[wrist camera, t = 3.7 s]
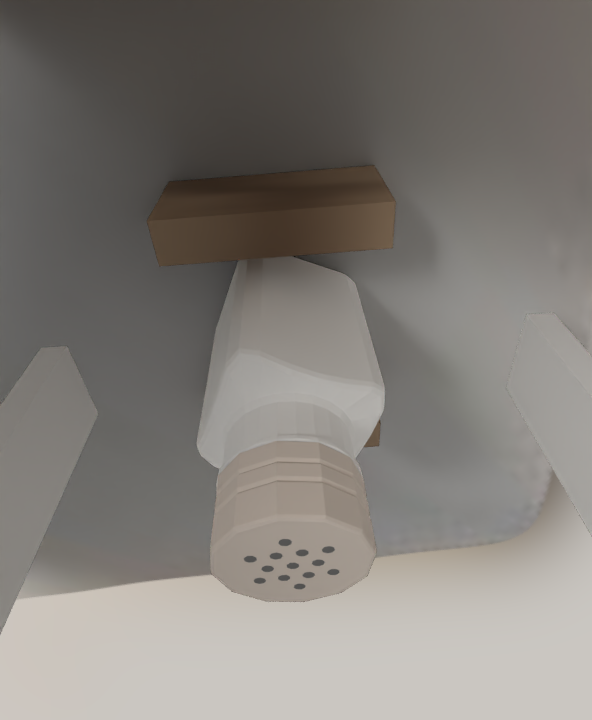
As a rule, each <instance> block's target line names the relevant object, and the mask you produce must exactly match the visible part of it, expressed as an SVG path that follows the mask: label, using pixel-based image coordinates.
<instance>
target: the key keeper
mask: <svg viewBox="0 0 592 720" xmlns="http://www.w3.org/2000/svg"><path fill="white" fill-rule="evenodd" d="M395 207H396V201H395V199H394V197H393V196H392V194H391V192H390V191H389V189H388V187H387V186H386V184H385V182H384V181H383V179H382V177H381V176H380V174H379V172H378V171H377V169H376V167H375V166H374V165H372V166H359V167H347V168H334V169H322V170H309V171H297V172H284V173H272V174H259V175H247V176H234V177H222V178H209V179H197V180H184V181H172V182H168V184H167V186H166V188H165V189H164V191H163V193H162V195H161V197H160V198H159V200H158V202H157V204H156V205H155V207H154V209H153V211H152V213H151V214H150V216H149V218H148V220H147V224H148V228H149V231H150V235H151V239H152V242H153V246H154V249H155V253H156V257H157V260H158V264H159V266H171V265H184V264H197V263H209V262H222V261H235V260H248V259H260V258H273V257H286V256H299V255H312V254H324V253H337V252H350V251H363V250H376V249H388V248H393V236H394V221H395ZM379 438H380V419H379V421H378V423H377V425H376V427H375V428H374V430H373V432H372V434H371V436H370V437H369V439H368V441H367V442H366V444H365V445H364V447H373V446H379Z"/></svg>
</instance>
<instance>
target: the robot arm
mask: <svg viewBox="0 0 592 720" xmlns="http://www.w3.org/2000/svg"><path fill="white" fill-rule="evenodd" d="M506 389H507V391H508V393H509V395H510V396H511V398H512V400H513V402H514V403H515V405H516V407H517V408H518V410H519V412H520V414H521V415H522V417H523V419H524V420H525V422H526V424H527V426H528V427H529V429H530V431H531V433H532V434H533V436H534V438H535V439H536V441H537V443H538V445H539V446H540V448H541V450H542V451H543V453H544V455H545V457H546V458H547V460H548V462H549V463H550V465H551V467H552V469H553V470H554V472H555V474H556V475H557V477H558V479H559V481H560V482H561V484H562V486H563V488H564V489H565V491H566V493H567V494H568V496H569V498H570V500H571V501H572V503H573V505H574V507H575V508H576V510H577V512H578V513H579V515H580V517H581V518H582V520H583V522H584V524H585V525H586V527H587V529H588V530H589V532H590V534H591V536H592V356H591V354H590V353H589V352H588V351H587V350H586V349H585V348H584V346H583V345H582V344H581V343H580V342H579V341H578V340H577V338H576V337H575V336H574V335H573V334H572V333H571V332H570V331H569V329H568V328H567V327H566V326H565V325H564V324H563V323H562V321H561V320H560V319H559V318H558V317H557V316H556V315H555V313H554V312H553V313H539V314H526V317H525V321H524V324H523V328H522V331H521V335H520V338H519V342H518V345H517V349H516V352H515V356H514V359H513V363H512V367H511V370H510V374H509V377H508V381H507V384H506ZM97 417H98V412H97V410H96V408H95V406H94V403H93V401H92V399H91V397H90V395H89V392H88V390H87V388H86V386H85V384H84V382H83V379H82V377H81V375H80V373H79V371H78V368H77V366H76V364H75V362H74V360H73V358H72V355H71V353H70V351H69V349H68V347H67V346H57V347H42V348H40V350H39V351H38V352H37V354H36V355H35V357H34V358H33V360H32V361H31V362H30V364H29V365H28V367H27V368H26V370H25V371H24V372H23V374H22V375H21V377H20V378H19V380H18V381H17V382H16V384H15V385H14V387H13V388H12V390H11V391H10V392H9V394H8V395H7V397H6V398H5V400H4V401H3V402H2V404H1V405H0V634H1V632H2V629H3V627H4V625H5V623H6V621H7V618H8V616H9V614H10V611H11V609H12V607H13V605H14V602H15V600H16V598H17V596H18V594H19V591H20V589H21V587H22V585H23V582H24V580H25V578H26V576H27V573H28V571H29V569H30V567H31V564H32V562H33V560H34V558H35V556H36V553H37V551H38V549H39V547H40V544H41V542H42V540H43V538H44V535H45V533H46V531H47V529H48V526H49V524H50V522H51V520H52V517H53V515H54V513H55V511H56V508H57V506H58V504H59V502H60V499H61V497H62V495H63V493H64V491H65V488H66V486H67V484H68V482H69V479H70V477H71V475H72V473H73V470H74V468H75V466H76V464H77V461H78V459H79V457H80V455H81V452H82V450H83V448H84V446H85V443H86V441H87V439H88V437H89V434H90V432H91V430H92V428H93V426H94V423H95V421H96V419H97Z"/></svg>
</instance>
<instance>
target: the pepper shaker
mask: <svg viewBox="0 0 592 720" xmlns="http://www.w3.org/2000/svg"><path fill="white" fill-rule="evenodd" d="M384 404H385V386H384V382H383V379H382V375H381V372H380V368H379V365H378V361H377V358H376V354H375V351H374V347H373V344H372V340H371V337H370V333H369V330H368V326H367V323H366V319H365V316H364V312H363V309H362V305H361V301H360V298H359V294H358V291H357V287H356V284H355V282H353V281H352V280H351V279H350V278H349V277H348V276H347V275H345V274H343V273H340V272H337V271H334V270H331V269H328V268H325V267H322V266H319V265H316V264H313V263H310V262H307V261H304V260H301V259H298V258H295V257H292V256H286V257H273V258H260V259H248V260H238V263H237V266H236V269H235V272H234V275H233V278H232V281H231V284H230V287H229V290H228V293H227V296H226V300H225V303H224V306H223V309H222V312H221V315H220V318H219V321H218V324H217V327H216V332H215V338H214V343H213V349H212V355H211V361H210V367H209V373H208V379H207V384H206V390H205V396H204V402H203V408H202V414H201V419H200V425H199V431H198V437H197V443H196V445H197V449H198V451H199V453H200V455H201V456H202V457H203V458H204V459H206V460H207V461H208V462H209V463H210V464H211V465H213V466H214V467H216V468H218V469H219V472H218V477H217V482H216V488H217V491H216V500H215V509H214V517H213V526H212V535H211V544H210V572H211V574H212V575H213V576H215V577H216V578H217V579H218V580H219V581H220V582H221V583H223V584H224V585H225V586H226V587H227V588H229V589H230V590H231V591H232V592H235V593H239V594H242V595H246V596H249V597H253V598H256V599H260V600H264V601H279V602H284V601H285V602H288V601H289V602H292V601H293V602H305V601H310V600H314V599H318V598H322V597H326V596H330V595H334V594H338V593H342V592H343V591H345V590H346V589H348V588H349V587H351V586H353V585H354V584H356V583H357V582H359V581H360V580H362V579H364V578H365V577H367V576H368V574H369V571H370V568H371V566H372V563H373V561H374V558H375V556H376V553H377V549H376V543H375V538H374V533H373V527H372V522H371V519H370V517H369V516H370V511H369V506H368V501H367V500H366V496H367V495H366V490H365V484H364V480H363V474H362V471H361V468H360V466H359V463H358V462H357V461H356V460H355V458H356V457H357V456H358V454H359V453H360V452H361V450H362V449H363V447H364V445H365V444H366V442H367V441H368V439H369V437H370V436H371V434H372V432H373V430H374V428H375V427H376V425H377V423H378V421H379V419H380V417H381V415H382V413H383V411H384Z"/></svg>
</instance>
